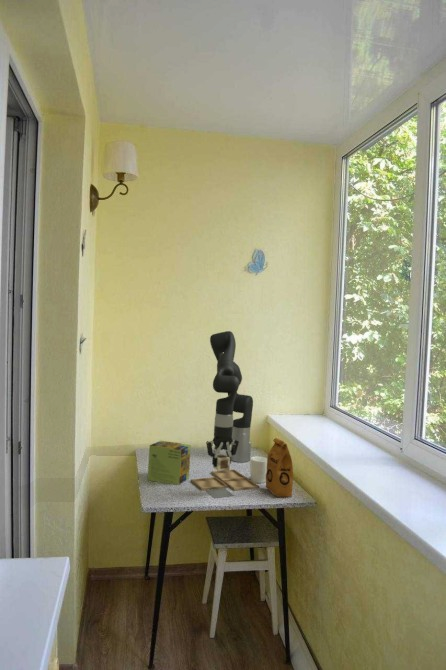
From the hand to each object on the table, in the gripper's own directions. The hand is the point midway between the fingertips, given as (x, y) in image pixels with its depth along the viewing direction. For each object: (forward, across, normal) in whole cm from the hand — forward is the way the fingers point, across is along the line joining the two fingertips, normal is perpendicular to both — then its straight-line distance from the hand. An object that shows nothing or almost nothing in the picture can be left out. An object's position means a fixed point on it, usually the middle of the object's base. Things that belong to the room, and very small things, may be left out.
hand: (221, 465), depth 209 cm
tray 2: (+12, -13, -19) cm, 26 cm away
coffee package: (+12, -25, +5) cm, 28 cm away
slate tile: (+12, 0, 0) cm, 12 cm away
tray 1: (+12, 0, -11) cm, 16 cm away
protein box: (+12, +14, -23) cm, 30 cm away
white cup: (+12, -24, -11) cm, 29 cm away
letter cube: (+1, 0, 0) cm, 1 cm away
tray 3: (+12, -13, -7) cm, 19 cm away
